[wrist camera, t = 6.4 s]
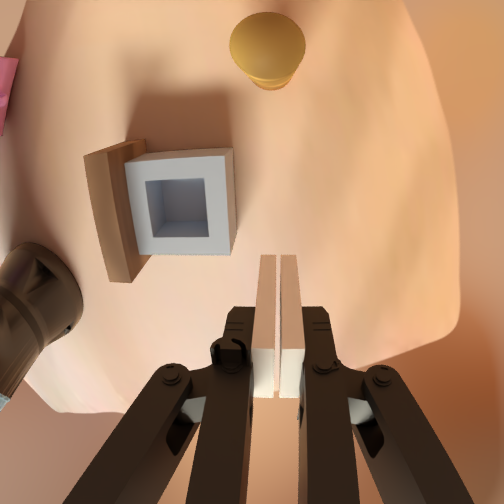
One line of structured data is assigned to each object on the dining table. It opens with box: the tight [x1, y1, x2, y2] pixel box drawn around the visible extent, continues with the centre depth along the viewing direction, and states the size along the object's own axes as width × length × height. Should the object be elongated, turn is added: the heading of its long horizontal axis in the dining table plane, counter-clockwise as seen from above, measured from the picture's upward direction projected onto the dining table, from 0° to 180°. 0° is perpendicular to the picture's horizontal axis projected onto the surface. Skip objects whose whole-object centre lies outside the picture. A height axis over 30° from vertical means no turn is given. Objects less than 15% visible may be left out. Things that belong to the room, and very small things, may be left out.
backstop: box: [84, 139, 151, 283], centre depth 28 cm, size 2×12×8 cm, turn 2°
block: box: [124, 147, 237, 255], centre depth 29 cm, size 9×9×5 cm
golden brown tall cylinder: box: [229, 12, 306, 90], centre depth 19 cm, size 4×4×13 cm
